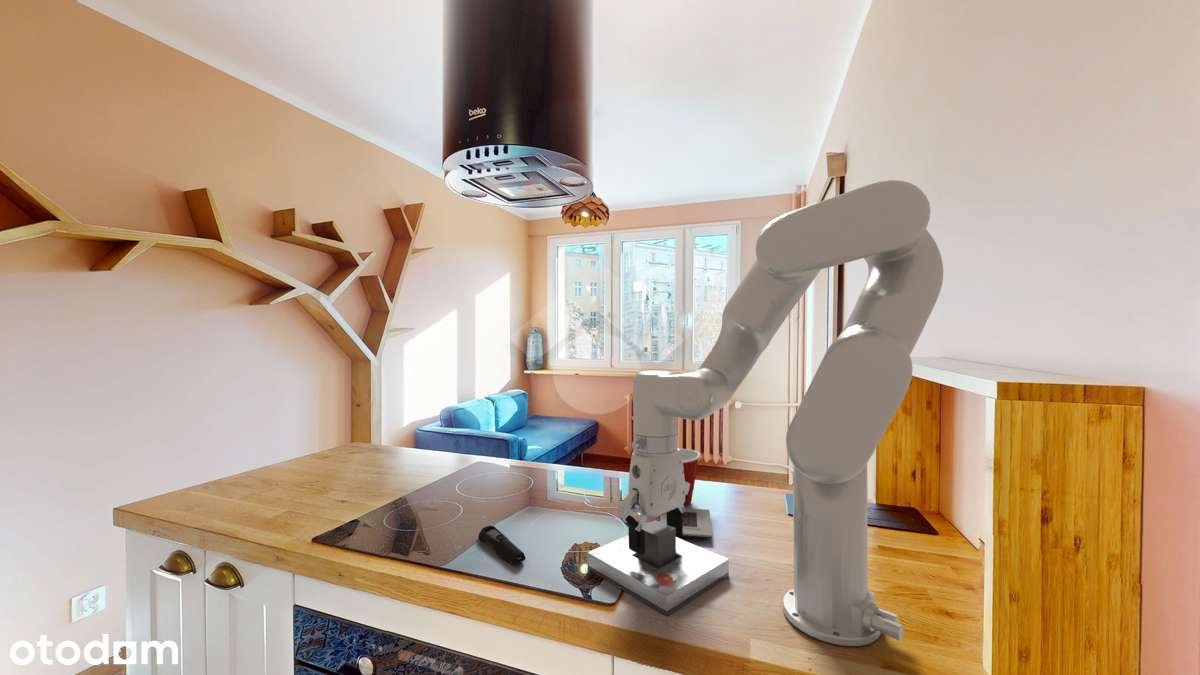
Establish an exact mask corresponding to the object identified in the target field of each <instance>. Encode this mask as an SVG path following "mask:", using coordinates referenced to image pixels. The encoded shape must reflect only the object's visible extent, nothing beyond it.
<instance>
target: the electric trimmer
mask: <svg viewBox="0 0 1200 675" xmlns="http://www.w3.org/2000/svg"><path fill="white" fill-rule="evenodd" d="M478 541H479V542H482V541H484V542H486V543H487V544H488V545H489V546H490V547H492V548H493V549H494V551H495V554H496V555H497V556H498V557H500V558H502V559H504V561H506V562H509V563H511V564H513V565H516V564H519V563H521V562H524V561H526V555H525V553H524V552H523V551H522V550H521V549H520V548H519V547H517V545H515V544H514V543H513V542H512V541H511V540H509V538H508V537H507V536H506V535H505V534H503V532H501V531H500V530H499V529H498V528H497V527H495V526H494V525H487V526H484V527H483V528H482V529H481V530H480V532H479V533H478Z"/></svg>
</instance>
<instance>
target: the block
mask: <svg viewBox="0 0 1200 675" xmlns="http://www.w3.org/2000/svg"><path fill="white" fill-rule="evenodd" d="M642 529H643V530H645V554H643V555H640V554H638V559H640V560H642V561H644V562H646V563H648V564H650V565H652V566H654V567H656V568H658V569H659V568H661V567H663V566H665V565H667V564H669V563H670V562H672V561H674V560H676V528H674V527H672V526H669V525H667V524H664V523H662V522H660V520H656V519H654V520H652V521H650V522H648V523H644V525H643V527H642Z"/></svg>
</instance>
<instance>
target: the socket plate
mask: <svg viewBox="0 0 1200 675" xmlns="http://www.w3.org/2000/svg"><path fill="white" fill-rule="evenodd" d="M729 562H730V560H729V558H728V557H725V556H723V555H721V554H718V553H715V552H713V551H710V550H708V549H706V548H704V547H701V546H698V545H696V544H694V543H692V542H689V541H687V540H684V539H682V538H681V537H676V560H674V561H672V562H670V563H669V564H667V565H665V566H663V567H661V568H659V569H658V568H656V567H654V566H652V565H650V564H648V563H646V562H644V561H642V560H640V559H638V553H636V552H634V551H632V550H630V549H629V534H627V535H625V536H622V537H619V538H617V539H615V540H613V541H611V542H609V543H606V544H603V545H601V546H599V547H597V548H594V549H592V550H590V551H587V570H588V571H590V572H591V573H593V574H594V575H596V576H598V577H599V578H601V579H603V580H605V581H606V580H607V581H606V582H608V581H609V582H608V583H609V584H612V585H613V584H614V585H613V586H615V585H616V586H618V587H620V588H621V589H622V591H623V592H624V593H626V594H628V595H630V596H631V597H633V598H634V599H637V600H638V601H640V602H642V603H643V604H645V605H647V606H648V607H650V608H652V609H653V610H655V611H657V612H659V613H660V614H661V615H663V616H665V617H670V615H672V614H673V613H675V612H677V611H678V610H679V609H681V608H682V607H684V606H686V605H688V604H689V603H690V602H692V601H694V600H695V599H697V598H698V597H700V596H701V595H703V594H704V593H706V592H708V591H709V590H711V589H712V588H713V587H715V586H716V585H718V584H720V583H721V582H722V581H724V580H726V579H727V578H729V575H730V574H729V572H730V568H729V566H730V564H729ZM616 586H615V587H616ZM618 587H617V588H618ZM620 588H619V589H620ZM621 589H620V590H621Z"/></svg>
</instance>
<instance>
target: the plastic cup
mask: <svg viewBox="0 0 1200 675" xmlns="http://www.w3.org/2000/svg"><path fill="white" fill-rule="evenodd" d="M679 449H680V452H681V456H682V461H683V468H684V479H685V481H686V482H688V483H690V488H689V491H688V494H687V496H688V499H687V501H686V503H685V505H684V507H685V508H686V507H688V506H690V505H691V504H692V501H693V500H692V499H693V495H694V494H693V493H694V490H695V482H696V475H697V469H698V463H699V459H700V457H701V453H700V452H699V451H697V450H695V449H689V448H687V449H686V448H679Z"/></svg>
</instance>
